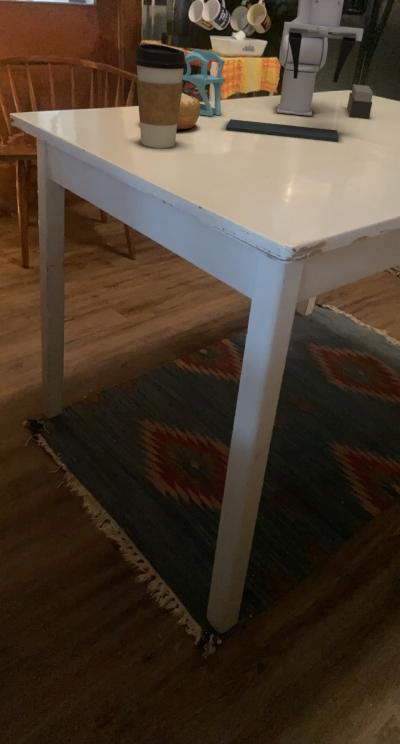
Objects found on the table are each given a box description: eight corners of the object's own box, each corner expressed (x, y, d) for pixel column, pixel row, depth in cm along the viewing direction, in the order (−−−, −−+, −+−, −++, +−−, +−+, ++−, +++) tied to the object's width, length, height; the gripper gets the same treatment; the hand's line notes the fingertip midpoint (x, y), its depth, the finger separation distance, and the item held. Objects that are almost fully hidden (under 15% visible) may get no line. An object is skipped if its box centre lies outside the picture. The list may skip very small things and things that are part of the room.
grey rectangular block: (347, 107, 150) (351, 83, 147) (364, 109, 149) (369, 85, 146) (349, 116, 140) (354, 91, 137) (369, 118, 139) (374, 93, 136)
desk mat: (230, 122, 125) (230, 119, 125) (336, 133, 124) (337, 130, 123) (225, 130, 119) (225, 126, 119) (338, 141, 117) (338, 138, 117)
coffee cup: (160, 136, 111) (162, 43, 102) (192, 146, 106) (197, 49, 98) (123, 141, 105) (123, 44, 97) (155, 152, 101) (158, 50, 92)
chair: (204, 117, 127) (209, 54, 121) (175, 110, 132) (178, 48, 125) (227, 114, 132) (233, 52, 126) (199, 107, 137) (202, 47, 130)
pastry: (203, 134, 114) (207, 82, 109) (140, 132, 112) (141, 79, 107) (194, 120, 124) (197, 72, 119) (136, 118, 122) (136, 69, 117)
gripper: (287, -6, 107) (276, 79, 115) (370, 1, 106) (354, 86, 113) (288, -7, 113) (278, 74, 120) (367, 0, 111) (352, 81, 119)
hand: (315, 79), depth 117 cm, fingers open, 7 cm apart
